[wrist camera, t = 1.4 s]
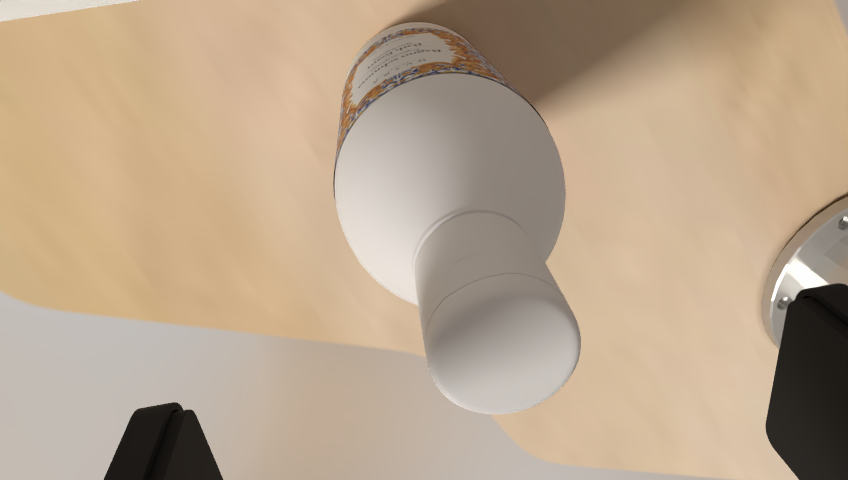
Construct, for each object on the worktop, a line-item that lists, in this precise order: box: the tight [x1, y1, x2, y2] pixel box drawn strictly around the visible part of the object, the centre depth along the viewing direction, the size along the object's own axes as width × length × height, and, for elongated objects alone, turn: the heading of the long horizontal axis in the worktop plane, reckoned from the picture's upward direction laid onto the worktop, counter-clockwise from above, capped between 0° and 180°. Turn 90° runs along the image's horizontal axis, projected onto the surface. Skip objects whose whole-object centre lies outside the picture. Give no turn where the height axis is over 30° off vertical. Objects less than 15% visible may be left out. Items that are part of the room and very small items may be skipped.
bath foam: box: [334, 22, 581, 414], centre depth 20 cm, size 7×7×20 cm
